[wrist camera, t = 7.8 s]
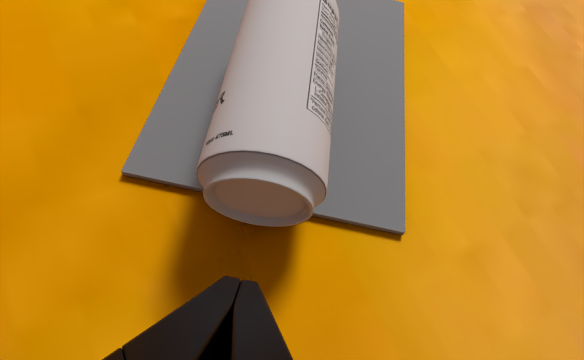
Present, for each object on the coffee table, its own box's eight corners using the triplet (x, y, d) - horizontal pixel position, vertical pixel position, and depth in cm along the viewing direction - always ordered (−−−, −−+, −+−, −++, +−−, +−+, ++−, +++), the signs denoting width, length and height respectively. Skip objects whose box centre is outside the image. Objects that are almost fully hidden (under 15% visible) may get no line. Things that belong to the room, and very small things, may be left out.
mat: (401, 235, 18) (405, 232, 18) (123, 174, 18) (121, 171, 17) (401, 6, 29) (403, 2, 29) (228, -37, 29) (227, -42, 28)
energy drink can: (218, 227, 18) (262, 44, 25) (329, 234, 16) (341, 40, 24) (164, 169, 12) (239, -41, 20) (320, 172, 11) (339, -51, 19)
